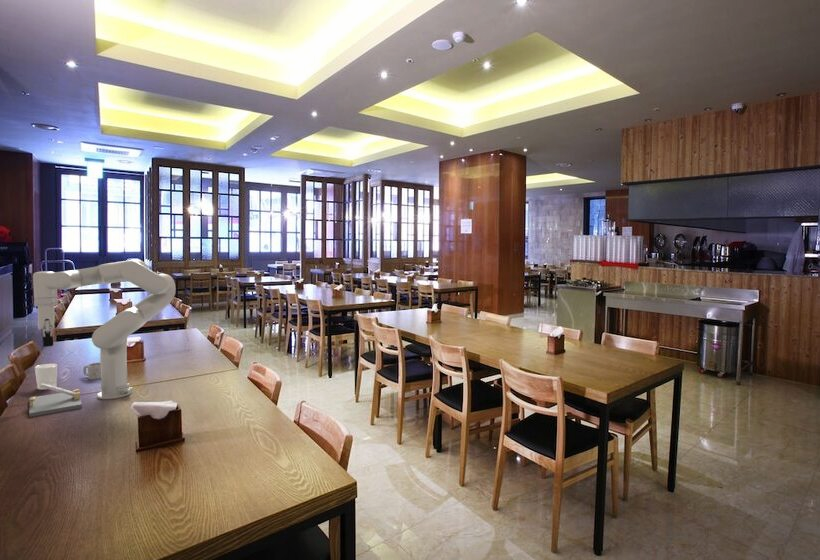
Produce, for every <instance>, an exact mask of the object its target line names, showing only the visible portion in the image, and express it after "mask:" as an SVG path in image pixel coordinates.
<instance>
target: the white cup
mask: <svg viewBox="0 0 820 560" xmlns="http://www.w3.org/2000/svg"><path fill="white" fill-rule="evenodd" d="M34 371H35V373H34V374H35V381H36V386H37V388H36V389H37V390H40V391H41V390H47V389H46V388H43V387H40V385H41V383H45V384H48V385H52V386H55V387H58V386H57V380H58V364H57V363H43V364H38V365H36V366H34Z"/></svg>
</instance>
